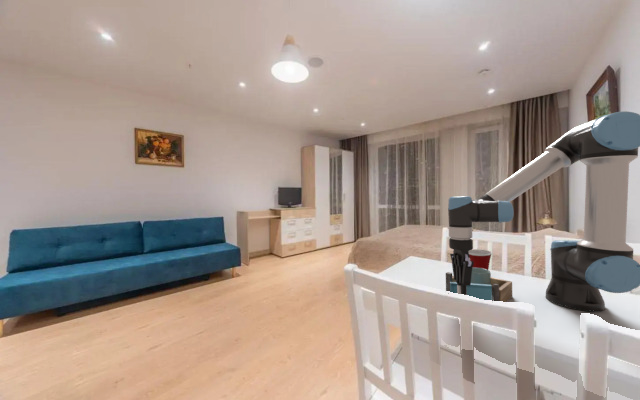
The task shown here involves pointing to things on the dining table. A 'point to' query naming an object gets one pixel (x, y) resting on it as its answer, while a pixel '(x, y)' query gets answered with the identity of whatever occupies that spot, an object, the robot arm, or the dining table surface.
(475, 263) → the plastic cup
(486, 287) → the blue flat rectangular panel
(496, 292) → the wooden u-shaped tray
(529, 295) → the dining table surface
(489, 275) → the cup
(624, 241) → the robot arm
